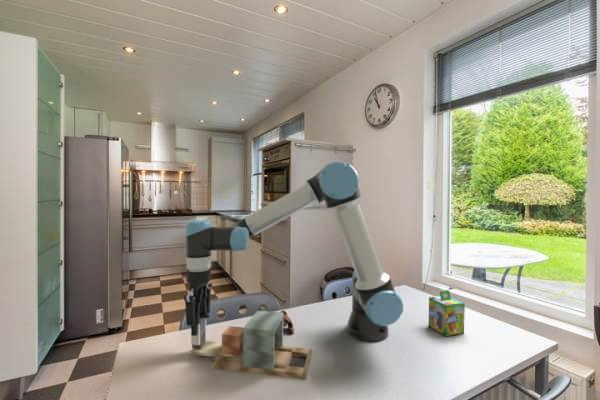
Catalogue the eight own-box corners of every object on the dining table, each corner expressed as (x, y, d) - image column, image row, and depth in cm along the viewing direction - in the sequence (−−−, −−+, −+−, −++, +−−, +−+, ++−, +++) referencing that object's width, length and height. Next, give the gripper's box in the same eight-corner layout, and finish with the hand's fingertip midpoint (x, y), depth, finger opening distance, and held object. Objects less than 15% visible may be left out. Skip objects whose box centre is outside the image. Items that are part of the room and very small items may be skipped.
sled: (258, 348, 91) (258, 319, 91) (251, 360, 84) (251, 329, 84) (199, 342, 95) (199, 314, 94) (188, 353, 88) (188, 324, 88)
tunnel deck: (311, 353, 91) (312, 314, 91) (305, 379, 79) (306, 334, 78) (230, 345, 96) (230, 308, 96) (212, 368, 83) (212, 325, 83)
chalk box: (445, 337, 103) (446, 296, 102) (427, 326, 112) (427, 288, 111) (465, 333, 106) (466, 294, 105) (445, 323, 114) (446, 286, 114)
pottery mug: (295, 339, 101) (284, 322, 99) (272, 349, 103) (261, 331, 101) (297, 317, 113) (287, 301, 111) (276, 325, 114) (266, 310, 112)
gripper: (200, 262, 99) (200, 328, 99) (172, 275, 83) (173, 353, 84) (220, 263, 98) (220, 330, 98) (196, 276, 82) (196, 356, 82)
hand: (198, 341), depth 91 cm, fingers closed on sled, 3 cm apart
